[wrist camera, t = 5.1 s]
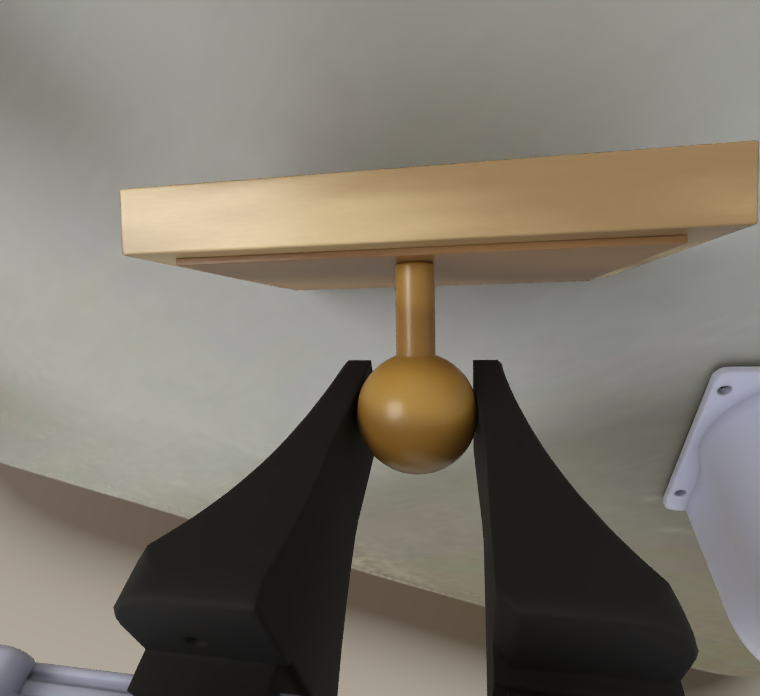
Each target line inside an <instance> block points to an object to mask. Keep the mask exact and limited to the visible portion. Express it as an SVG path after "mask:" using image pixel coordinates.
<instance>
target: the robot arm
mask: <svg viewBox="0 0 760 696" xmlns="http://www.w3.org/2000/svg"><path fill="white" fill-rule="evenodd" d="M372 372H373V371H372V365H371V360H349V361H348V362H347V363H346V364H345V365H344V366H343V368H342V369H341V371H340V372H339V374H338V375H337V377H336V378H335V379H334V381H333V382H332V384H331V385H330V386H329V388H328V389H327V390H326V392H325V393H324V394H323V396H322V397H321V398H320V399H319V401H318V402H317V403H316V405H315V406H314V407H313V408H312V410H311V411H310V412H309V413H308V415H307V416H306V417H305V418H304V419H303V421H302V422H301V423H300V424H299V425H298V426H297V427H296V428H295V430H294V431H293V432H292V433H291V434H290V435H289V436H288V438H287V439H286V440H285V441H284V442H283V443H282V444H281V445H280V446H279V447H278V448H277V449H276V450H275V451H274V452H273V453H272V454H271V455H270V456H269V457H268V458H267V459H266V460H265V461H264V462H263V463H262V464H260V465H259V466H258V467H257V468H256V469H255V470H254V471H253V472H251V473H250V474H249V475H248V476H247V477H246V478H245V479H243V480H242V481H241V482H240V483H239V484H237V485H236V486H235V487H234V488H233V489H231V490H230V491H229V492H227V493H226V494H225V495H223V496H222V497H221V498H219V499H218V500H217V501H215V502H214V503H213V504H211V505H210V506H208V507H207V508H206V509H204V510H203V511H201V512H200V513H198V514H197V515H196V516H194V517H193V518H191V519H190V520H188V521H187V522H185V523H183V524H182V525H180V526H179V527H177V528H175V529H174V530H172V531H170V532H169V533H167V534H166V535H164V536H162V537H161V538H159V539H157V540H156V541H154V542H152V543H150V544H149V545H148V546H147V547H146V549H145V551H144V552H143V554H142V556H141V557H140V559H139V560H138V562H137V564H136V566H135V568H134V570H133V571H132V573H131V575H130V577H129V579H128V581H127V583H126V585H125V587H124V588H123V590H122V592H121V594H120V596H119V598H118V600H117V602H116V604H115V605H114V612H115V616H116V619H117V620H118V621H119V623H120V624H121V625H122V626H123V627H124V628H125V629H126V630H127V631H128V632H129V633H130V634H131V635H132V636H133V637H134V638H135V639H136V640H137V641H138V642H139V643H140V644H141V645H142V646H143V647H144V648H145V649H146V650H145V652H144V654H143V656H142V659H141V660H140V663H139V665H138V667H137V669H136V671H135V674H134V675H132V674H124V673H117V672H109V671H101V670H92V669H85V668H77V667H69V666H61V665H53V664H45V663H37V662H35V661H34V659H33V658H32V657H31V656H30V655H28V654H27V653H26V652H24V651H22V650H20V649H17V648H14V647H11V646H7V645H0V696H337V693H338V682H339V671H340V659H341V648H342V639H343V631H344V621H345V612H346V603H347V595H348V587H349V579H350V570H351V563H352V556H353V549H354V542H355V535H356V530H357V525H358V520H359V515H360V511H361V507H362V503H363V499H364V495H365V491H366V486H367V482H368V478H369V474H370V470H371V466H372V461H373V457H374V455H373V454H372V453H371V452H370V450H369V449H368V448H367V446H366V444H365V443H364V441H363V439H362V437H361V434H360V431H359V428H358V423H357V403H358V398H359V394H360V391H361V389H362V387H363V384H364V383H365V381H366V379H367V378H368V376H369V375H370V374H371V373H372ZM723 386H726V387H724V388H721V387H723ZM719 388H720V389H719ZM473 391H474V394H475V396H476V402H477V412H478V422H477V427H476V431H475V434H474V457H475V466H476V475H477V483H478V492H479V500H480V509H481V517H482V526H483V538H484V568H485V608H486V650H487V651H486V655H487V696H685V695H684V691H683V688H682V685H681V679H682V678H683V677H684V675H685V674H686V673H687V671H688V670H689V668H690V667H691V666H692V664H693V663H694V661H695V660H696V657H697V655H698V652H699V651H698V648H697V645H696V641H695V637H694V634H693V631H692V629H691V627H690V624H689V622H688V620H687V618H686V615H685V613H684V611H683V609H682V607H681V605H680V603H679V601H678V599H677V597H676V596H675V594H674V592H673V590H672V588H671V587H670V585H669V583H668V582H667V581H666V580H665V579H664V578H662V577H661V576H660V575H659V574H658V573H657V572H656V571H654V570H653V569H652V568H651V567H650V566H649V565H648V564H647V563H645V562H644V561H643V560H642V559H641V558H640V557H639V556H638V555H637V554H636V553H635V552H634V551H632V550H631V549H630V548H629V547H628V546H627V545H626V544H625V543H624V542H623V541H622V540H621V539H620V538H619V537H618V536H617V535H616V534H615V533H614V532H613V531H612V530H611V529H610V528H609V527H608V526H607V525H606V524H605V523H604V522H603V520H602V519H601V518H600V517H599V516H598V515H597V514H596V513H595V512H594V511H593V509H592V508H591V507H590V506H589V505H588V504H587V503H586V502H585V501H584V500H583V499H582V497H581V496H580V495H579V494H578V493H577V492H576V490H575V489H574V488H573V487H572V485H571V484H570V483H569V482H568V480H567V479H566V478H565V477H564V475H563V474H562V473H561V471H560V470H559V469H558V467H557V466H556V465H555V463H554V462H553V461H552V459H551V458H550V456H549V455H548V454H547V452H546V451H545V449H544V448H543V446H542V445H541V443H540V441H539V440H538V438H537V437H536V435H535V434H534V432H533V430H532V429H531V427H530V425H529V424H528V422H527V420H526V418H525V416H524V415H523V413H522V411H521V409H520V407H519V405H518V403H517V401H516V399H515V397H514V395H513V393H512V391H511V389H510V387H509V384H508V382H507V379H506V377H505V374H504V371H503V367H502V364H501V363H500V362H499V361H498V360H473ZM663 503H664V506H665V507H666V508H667V509H670V510H682V511H686V512H687V515H688V518H689V520H690V523H691V525H692V528H693V530H694V533H695V535H696V538H697V540H698V543H699V545H700V548H701V550H702V553H703V555H704V558H705V560H706V563H707V566H708V568H709V571H710V573H711V576H712V578H713V581H714V583H715V586H716V588H717V591H718V593H719V596H720V598H721V601H722V603H723V606H724V608H725V611H726V614H727V616H728V619H729V621H730V623H731V625H732V627H733V628H734V630H735V632H736V634H737V635H738V637H739V638H740V640H741V641H742V642H743V644H744V645H745V646H746V647H747V649H748V650H749V651H750V652H751V653H752V654H753V655H754V656H755V657H756V658H757V659H758V660H759V661H760V366H757V367H722V368H720V369H718V370H716V371H715V372H714V373H713V374H712V376H711V378H710V380H709V383H708V385H707V388H706V391H705V393H704V396H703V398H702V401H701V403H700V406H699V408H698V411H697V413H696V416H695V418H694V421H693V423H692V426H691V428H690V431H689V433H688V436H687V439H686V441H685V444H684V446H683V449H682V451H681V454H680V456H679V459H678V461H677V464H676V466H675V469H674V471H673V474H672V476H671V479H670V481H669V484H668V487H667V489H666V492H665V494H664V497H663Z"/></svg>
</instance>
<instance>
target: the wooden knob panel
mask: <svg viewBox="0 0 760 696" xmlns="http://www.w3.org/2000/svg"><path fill="white" fill-rule="evenodd" d="M758 161H759V142H758V141H742V142H729V143H716V144H703V145H690V146H677V147H664V148H651V149H637V150H624V151H611V152H598V153H585V154H572V155H559V156H546V157H533V158H520V159H507V160H494V161H481V162H468V163H455V164H442V165H429V166H416V167H403V168H390V169H377V170H364V171H351V172H338V173H325V174H312V175H299V176H286V177H273V178H260V179H246V180H233V181H220V182H207V183H194V184H181V185H168V186H155V187H142V188H129V189H121V190H120V201H121V227H122V252H123V255H125V256H129V257H134V258H139V259H144V260H149V261H154V262H158V263H163V264H168V265H173V266H178V267H183V268H188V269H193V270H198V271H202V272H207V273H212V274H217V275H222V276H227V277H232V278H237V279H242V280H246V281H251V282H256V283H261V284H266V285H271V286H276V287H281V288H287V289H292V290H317V289H348V288H379V287H395V292H396V355H397V356H394V357H392V358H390V359H388V360H386V361H385V362H383V363H382V364H380V365H379V366H378V367H377V368H376V369H375V370H373V372H372V373H371V374H370V375H369V376H368V378H367V379H366V381H365V383H364V384H363V387H362V389H361V391H360V394H359V398H358V403H357V423H358V428H359V431H360V434H361V437H362V439H363V441H364V443H365V444H366V446H367V448H368V449H369V450H370V452H371V453H372V454H373V455H374V456H375V457H376V458H377V459H378V460H379V461H381V462H382V463H383V464H385V465H387V466H388V467H390V468H392V469H394V470H397V471H400V472H403V473H409V474H427V473H433V472H436V471H439V470H441V469H444V468H446V467H447V466H449V465H451V464H452V463H454V462H455V461H456V460H457V459H459V458H460V456H461V455H462V454H463V453H464V452H465V451H466V449H467V448H468V447H469V445H470V443H471V441H472V439H473V437H474V434H475V431H476V427H477V422H478V412H477V402H476V396H475V394H474V391H473V388H472V387H471V385H470V383H469V381H468V380H467V378H466V377H465V375H464V374H463V373H462V372H461V371H460V370H459V369H458V368H457V367H456V366H455V365H453V364H452V363H451V362H449V361H447V360H446V359H444V358H441V357H439V356H436V355H435V286H441V285H472V284H503V283H534V282H565V281H589V280H591V279H594V278H597V277H609V276H611V275H614V274H617V273H620V272H623V271H625V270H628V269H631V268H634V267H637V266H640V265H642V264H645V263H648V262H651V261H654V260H657V259H659V258H662V257H665V256H668V255H671V254H673V253H676V252H679V251H682V250H685V249H688V248H690V247H693V246H696V245H699V244H702V243H704V242H707V241H710V240H713V239H716V238H719V237H721V236H724V235H727V234H730V233H733V232H735V231H738V230H741V229H744V228H747V227H750V226H752V225H755V224H757V221H758Z"/></svg>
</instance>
